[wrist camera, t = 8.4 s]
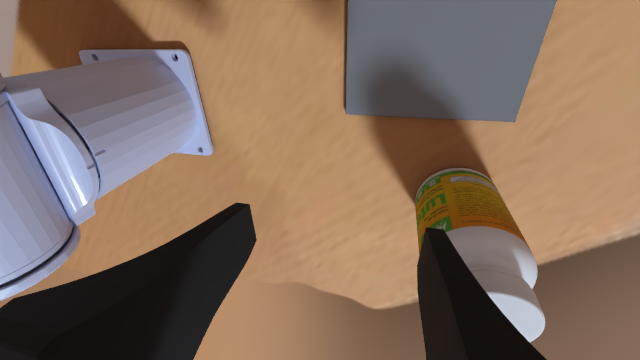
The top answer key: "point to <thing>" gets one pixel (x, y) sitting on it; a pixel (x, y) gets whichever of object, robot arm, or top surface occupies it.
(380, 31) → the mat
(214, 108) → the top surface
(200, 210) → the top surface
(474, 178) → the supplement bottle
